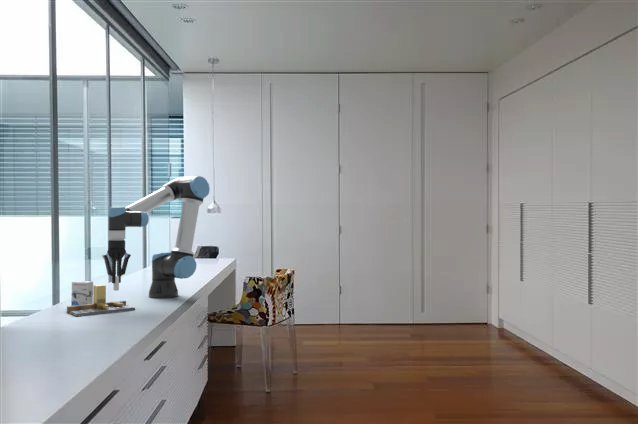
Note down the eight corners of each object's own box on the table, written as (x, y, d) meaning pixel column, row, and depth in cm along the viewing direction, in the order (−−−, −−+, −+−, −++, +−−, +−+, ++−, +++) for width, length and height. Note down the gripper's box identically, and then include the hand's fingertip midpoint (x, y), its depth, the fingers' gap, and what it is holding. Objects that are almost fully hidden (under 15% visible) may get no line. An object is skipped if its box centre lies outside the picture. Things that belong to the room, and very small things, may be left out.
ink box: (70, 307, 274) (70, 282, 274) (76, 305, 279) (76, 280, 279) (88, 307, 273) (88, 282, 273) (93, 305, 278) (93, 281, 278)
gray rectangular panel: (128, 307, 272) (128, 304, 272) (135, 310, 266) (135, 306, 266) (70, 314, 256) (70, 310, 255) (76, 316, 249) (76, 313, 249)
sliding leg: (102, 307, 270) (102, 284, 270) (110, 310, 262) (110, 286, 262) (93, 308, 268) (93, 285, 268) (101, 311, 260) (101, 287, 260)
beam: (124, 306, 276) (124, 300, 276) (132, 309, 269) (132, 302, 269) (66, 312, 259) (66, 306, 259) (73, 315, 252) (73, 308, 252)
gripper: (127, 239, 279) (126, 288, 279) (99, 239, 271) (99, 290, 271) (133, 239, 274) (132, 290, 273) (105, 240, 265) (105, 292, 265)
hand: (116, 290), depth 272 cm, fingers closed
